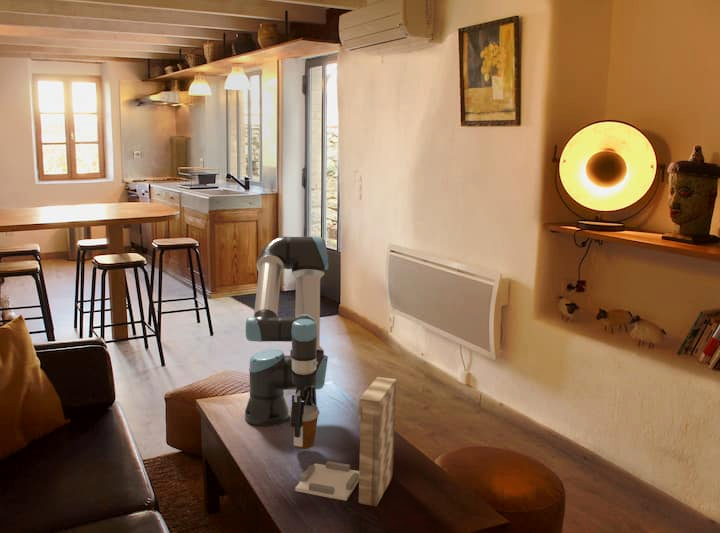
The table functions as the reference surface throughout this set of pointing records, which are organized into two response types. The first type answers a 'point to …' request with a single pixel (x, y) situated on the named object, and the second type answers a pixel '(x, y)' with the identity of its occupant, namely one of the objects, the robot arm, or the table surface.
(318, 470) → the seat plate
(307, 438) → the disposable coffee cup
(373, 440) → the upright plywood slab
